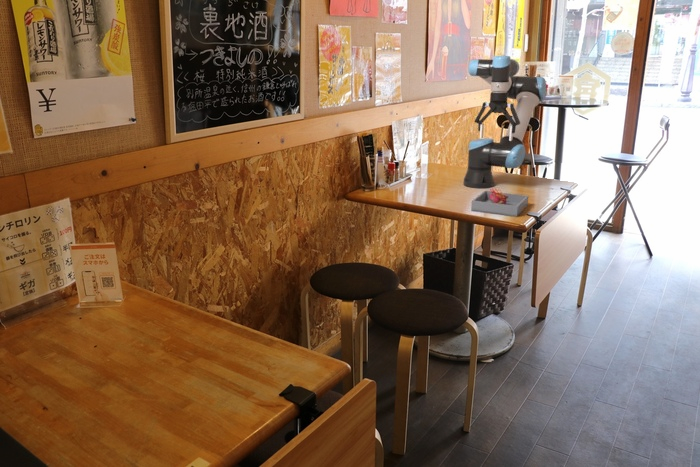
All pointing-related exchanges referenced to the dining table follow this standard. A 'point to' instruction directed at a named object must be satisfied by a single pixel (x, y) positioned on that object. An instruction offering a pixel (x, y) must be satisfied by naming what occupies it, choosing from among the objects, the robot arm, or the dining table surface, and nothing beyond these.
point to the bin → (509, 209)
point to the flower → (497, 196)
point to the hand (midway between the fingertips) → (495, 139)
